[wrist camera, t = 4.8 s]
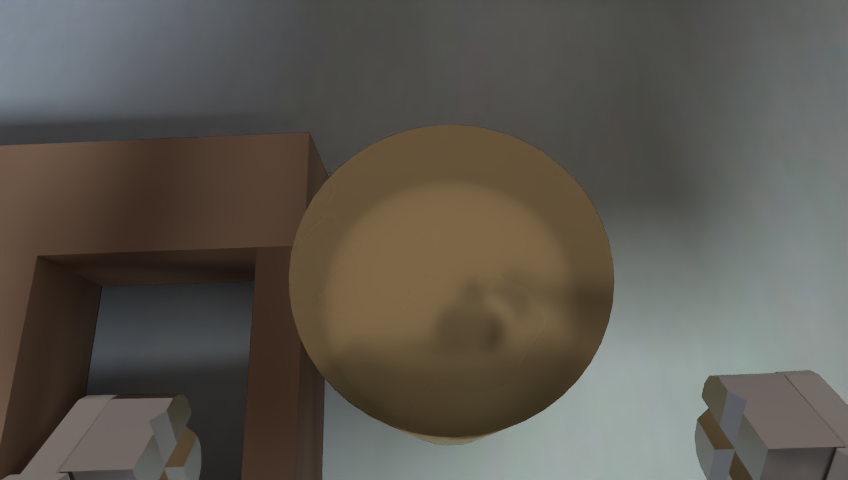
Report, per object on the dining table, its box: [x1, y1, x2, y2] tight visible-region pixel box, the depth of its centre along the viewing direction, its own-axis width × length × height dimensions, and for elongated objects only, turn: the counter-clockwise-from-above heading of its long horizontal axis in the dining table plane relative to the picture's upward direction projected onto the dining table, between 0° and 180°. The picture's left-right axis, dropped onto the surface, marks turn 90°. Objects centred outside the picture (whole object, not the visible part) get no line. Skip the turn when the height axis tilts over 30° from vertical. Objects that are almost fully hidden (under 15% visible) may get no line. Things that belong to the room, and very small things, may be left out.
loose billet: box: [289, 125, 614, 445], centre depth 12 cm, size 4×4×10 cm
